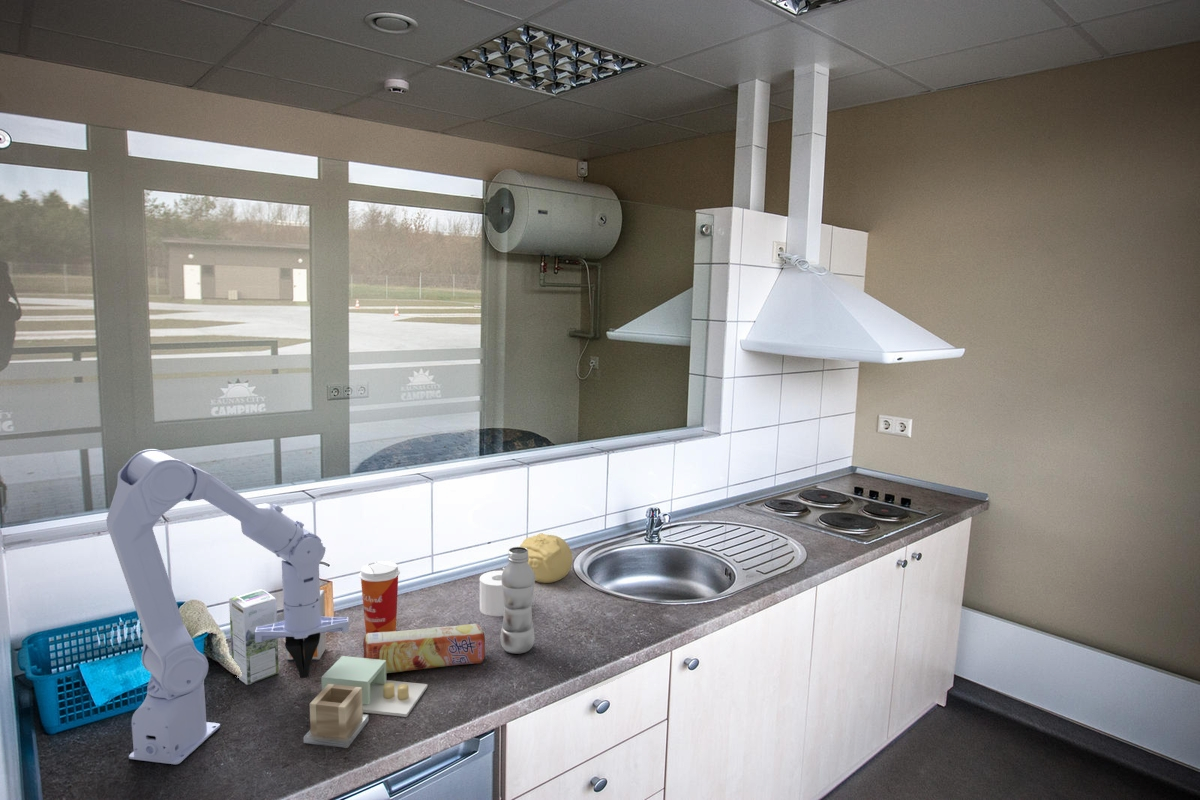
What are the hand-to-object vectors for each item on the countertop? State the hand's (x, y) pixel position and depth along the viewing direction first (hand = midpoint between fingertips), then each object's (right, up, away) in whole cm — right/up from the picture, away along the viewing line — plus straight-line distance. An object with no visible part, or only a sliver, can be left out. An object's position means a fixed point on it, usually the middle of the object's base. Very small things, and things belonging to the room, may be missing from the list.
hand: (304, 674), depth 122 cm
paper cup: (+7, 0, +20) cm, 22 cm away
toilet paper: (+29, +2, +35) cm, 46 cm away
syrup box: (-11, -2, +5) cm, 12 cm away
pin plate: (+9, -5, -11) cm, 15 cm away
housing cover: (+9, -2, -1) cm, 9 cm away
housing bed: (+12, -3, -1) cm, 13 cm away
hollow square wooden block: (+10, -4, -11) cm, 15 cm away
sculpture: (+37, +4, +51) cm, 63 cm away
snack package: (+18, -2, +9) cm, 20 cm away
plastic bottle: (+34, -1, +16) cm, 38 cm away
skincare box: (-5, -1, +12) cm, 13 cm away
